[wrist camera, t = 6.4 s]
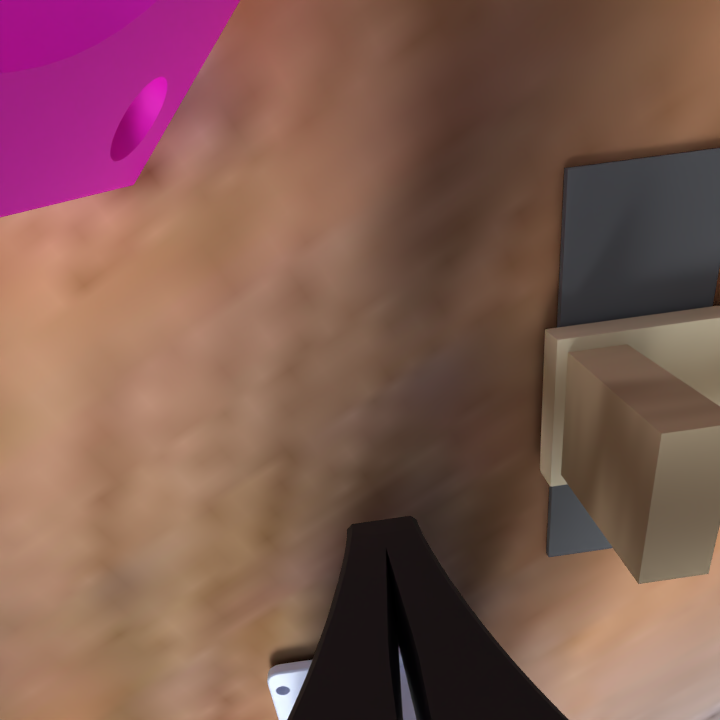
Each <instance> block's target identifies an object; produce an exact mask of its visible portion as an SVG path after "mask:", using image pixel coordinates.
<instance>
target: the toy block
mask: <svg viewBox="0 0 720 720" xmlns="http://www.w3.org/2000/svg"><path fill="white" fill-rule="evenodd" d="M239 1H240V0H0V217H4V216H8V215H12V214H16V213H20V212H24V211H28V210H32V209H37V208H41V207H45V206H49V205H53V204H57V203H61V202H65V201H69V200H73V199H78V198H82V197H86V196H90V195H94V194H98V193H102V192H106V191H110V190H115V189H119V188H123V187H127V186H131V185H134V183H135V181H136V180H137V178H138V176H139V175H140V173H141V171H142V169H143V168H144V166H145V164H146V162H147V161H148V159H149V157H150V156H151V154H152V152H153V150H154V149H155V147H156V145H157V143H158V142H159V140H160V138H161V136H162V135H163V133H164V131H165V130H166V128H167V126H168V124H169V123H170V121H171V119H172V117H173V116H174V114H175V112H176V110H177V109H178V107H179V105H180V104H181V102H182V100H183V98H184V97H185V95H186V93H187V91H188V90H189V88H190V86H191V85H192V83H193V81H194V79H195V78H196V76H197V74H198V72H199V71H200V69H201V67H202V65H203V64H204V62H205V60H206V59H207V57H208V55H209V53H210V52H211V50H212V48H213V46H214V45H215V43H216V41H217V39H218V38H219V36H220V34H221V33H222V31H223V29H224V27H225V26H226V24H227V22H228V20H229V19H230V17H231V15H232V13H233V12H234V10H235V8H236V7H237V5H238V3H239Z"/></svg>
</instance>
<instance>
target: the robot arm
mask: <svg viewBox="0 0 720 720" xmlns="http://www.w3.org/2000/svg"><path fill="white" fill-rule="evenodd" d="M398 644H399V647H398ZM268 686H269V689H270V693H271V696H272V699H273V702H274V706H275V709H276V712H277V716H278V719H279V720H568V719H567V718H566V717H565V716H564V715H563V714H562V713H561V712H560V711H559V710H558V708H557V707H556V706H555V705H554V704H553V703H552V702H551V701H550V700H549V699H548V698H547V697H546V696H545V695H544V694H543V693H542V692H541V691H540V690H539V689H538V688H537V687H536V686H535V684H534V683H533V682H532V681H531V680H530V679H529V678H528V677H527V676H526V674H525V673H524V672H523V671H522V670H521V669H520V668H519V667H518V666H517V665H516V663H515V662H514V661H513V660H512V659H511V658H510V656H509V655H508V654H507V653H506V652H505V651H504V649H503V648H502V647H501V646H500V645H499V643H498V642H497V641H496V640H495V639H494V637H493V636H492V635H491V634H490V632H489V631H488V630H487V629H486V627H485V626H484V625H483V624H482V622H481V621H480V620H479V619H478V617H477V616H476V615H475V613H474V612H473V611H472V609H471V608H470V607H469V605H468V604H467V603H466V601H465V600H464V598H463V597H462V596H461V594H460V593H459V591H458V590H457V588H456V587H455V586H454V584H453V583H452V581H451V580H450V579H449V577H448V576H447V574H446V573H445V571H444V569H443V568H442V566H441V565H440V563H439V562H438V560H437V558H436V557H435V555H434V553H433V552H432V550H431V548H430V547H429V545H428V543H427V541H426V539H425V538H424V536H423V534H422V532H421V530H420V528H419V525H418V523H417V520H416V519H414V518H413V517H411V516H406V517H399V518H392V519H385V520H378V521H371V522H364V523H357V524H352V525H351V526H350V527H349V528H348V529H347V541H346V548H345V554H344V559H343V564H342V568H341V572H340V576H339V581H338V584H337V588H336V591H335V594H334V598H333V601H332V605H331V608H330V612H329V615H328V618H327V621H326V624H325V627H324V629H323V632H322V635H321V638H320V641H319V643H318V646H317V649H316V652H315V654H314V657H313V659H312V660H305V661H298V662H292V663H285V664H279V665H275V666H273V667H272V668H270V670H269V672H268Z"/></svg>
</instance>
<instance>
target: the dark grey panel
mask: <svg viewBox="0 0 720 720" xmlns="http://www.w3.org/2000/svg"><path fill="white" fill-rule="evenodd" d="M719 268H720V148H712V149H705V150H697V151H690V152H682V153H675V154H667V155H660V156H652V157H644V158H637V159H629V160H622V161H614V162H607V163H599V164H592V165H584V166H577V167H569V168H564V189H563V210H562V231H561V253H560V274H559V295H558V316H557V328H559V327H566V326H573V325H580V324H588V323H595V322H602V321H610V320H617V319H624V318H631V317H639V316H646V315H653V314H661V313H668V312H675V311H682V310H690V309H697V308H704V307H711V306H713V301H714V295H715V290H716V284H717V279H718V273H719ZM609 548H613V547H612V546H611V544H610V543H609V542H608V540H607V539H606V537H605V536H604V535H603V533H602V532H601V530H600V529H599V528H598V526H597V525H596V523H595V522H594V521H593V519H592V518H591V516H590V515H589V513H588V512H587V511H586V509H585V508H584V506H583V505H582V504H581V502H580V501H579V499H578V498H577V497H576V495H575V494H574V492H573V491H572V490H571V488H570V487H569V485H568V484H567V485H559V486H552V487H549V508H548V529H547V551H546V553H547V555H548V557H554V556H561V555H568V554H575V553H582V552H588V551H595V550H602V549H609Z"/></svg>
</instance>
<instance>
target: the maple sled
mask: <svg viewBox="0 0 720 720" xmlns="http://www.w3.org/2000/svg"><path fill="white" fill-rule="evenodd" d="M540 472H541V473H542V475H543V476H544V478H545V479H546V481H547V482H548V484H549V485H550V487H552V486H559V485H567V484H568V485H569V487H570V488H571V490H572V491H573V492H574V494H575V495H576V497H577V498H578V499H579V501H580V502H581V504H582V505H583V506H584V508H585V509H586V511H587V512H588V513H589V515H590V516H591V518H592V519H593V521H594V522H595V523H596V525H597V526H598V528H599V529H600V530H601V532H602V533H603V535H604V536H605V537H606V539H607V540H608V542H609V543H610V544H611V546H612V547H613V549H614V550H615V551H616V553H617V554H618V556H619V557H620V559H621V560H622V561H623V563H624V564H625V566H626V567H627V568H628V570H629V571H630V573H631V574H632V575H633V577H634V578H635V580H636V581H637V582H638V584H641V583H648V582H655V581H662V580H669V579H676V578H683V577H690V576H696V575H703V574H708V573H709V569H710V564H711V560H712V556H713V551H714V547H715V543H716V538H717V534H718V530H719V525H720V305H719V306H711V307H704V308H697V309H690V310H682V311H675V312H668V313H661V314H653V315H646V316H639V317H631V318H624V319H617V320H610V321H602V322H595V323H588V324H580V325H573V326H566V327H559V328H551V329H545V344H544V371H543V399H542V426H541V453H540Z"/></svg>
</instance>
